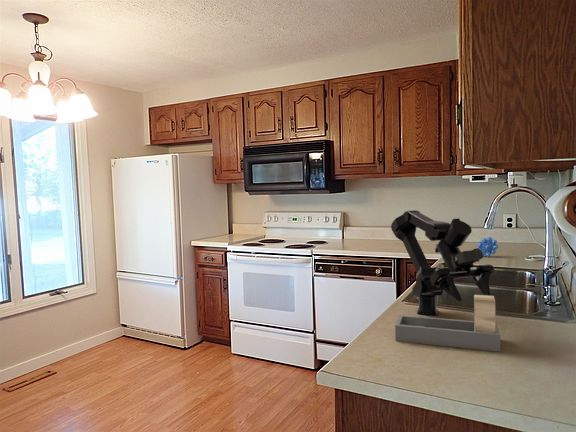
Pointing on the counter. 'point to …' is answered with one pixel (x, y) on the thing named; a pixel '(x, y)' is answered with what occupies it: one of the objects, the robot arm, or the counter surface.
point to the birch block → (484, 313)
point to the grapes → (488, 246)
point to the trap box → (445, 333)
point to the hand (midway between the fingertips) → (475, 299)
